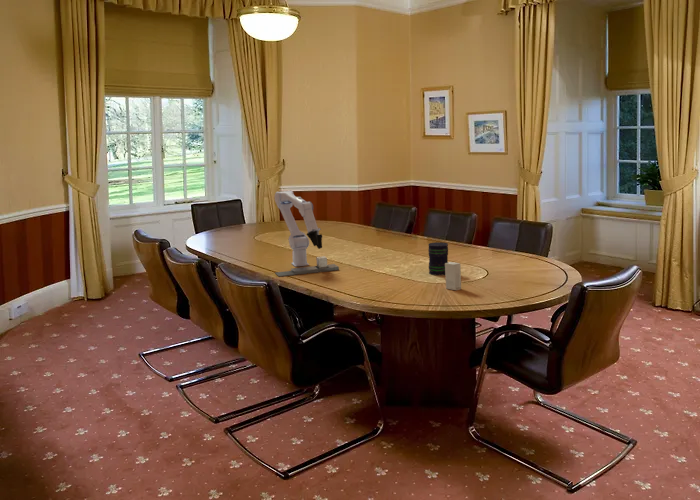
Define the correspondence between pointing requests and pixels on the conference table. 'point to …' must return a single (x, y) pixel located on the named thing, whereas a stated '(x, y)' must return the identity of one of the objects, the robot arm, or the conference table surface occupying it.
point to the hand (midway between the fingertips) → (318, 246)
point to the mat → (284, 273)
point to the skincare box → (453, 276)
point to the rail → (314, 269)
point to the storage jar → (437, 258)
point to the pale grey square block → (321, 262)
